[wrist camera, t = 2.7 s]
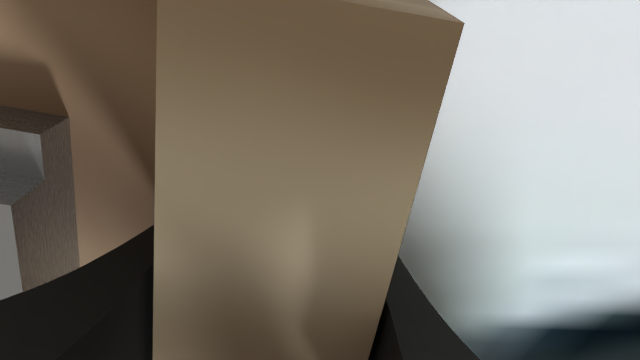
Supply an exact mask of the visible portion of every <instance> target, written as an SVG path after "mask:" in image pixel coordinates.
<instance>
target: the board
mask: <svg viewBox="0 0 640 360" xmlns="http://www.w3.org/2000/svg"><path fill="white" fill-rule="evenodd" d="M156 50H157V0H0V105H2V106H8V107H14V108H19V109H25V110H31V111H37V112H43V113H48V114H54V115H60V116H66V117H69V120H70V135H71V149H72V163H73V177H74V191H75V205H76V219H77V233H78V247H79V261H80V267H82V266H84V265H86V264H88V263H89V262H91V261H93V260H95V259H97V258H99V257H100V256H102V255H104V254H106V253H108V252H109V251H111V250H113V249H115V248H117V247H118V246H120V245H122V244H124V243H125V242H127V241H129V240H130V239H132V238H133V237H135V236H137V235H138V234H140V233H141V232H143V231H145V230H146V229H148V228H149V227H151V226H152V225H154V208H155V129H156Z"/></svg>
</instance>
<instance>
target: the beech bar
mask: <svg viewBox="0 0 640 360" xmlns="http://www.w3.org/2000/svg"><path fill="white" fill-rule="evenodd" d="M463 26H464V23H463V22H462V21H460V20H459V19H457V18H455V17H454V16H452V15H451V14H449V13H448V12H446V11H444V10H443V9H441V8H440V7H438V6H436V5H435V4H433V3H432V2H430V1H429V0H157V50H156V129H155V208H154V287H153V360H368V358H369V355H370V351H371V348H372V344H373V341H374V337H375V334H376V330H377V327H378V323H379V320H380V316H381V313H382V309H383V306H384V302H385V299H386V295H387V292H388V288H389V285H390V281H391V278H392V274H393V271H394V267H395V264H396V260H397V257H398V253H399V250H400V246H401V243H402V239H403V236H404V232H405V229H406V225H407V222H408V218H409V215H410V211H411V208H412V204H413V201H414V197H415V194H416V190H417V187H418V183H419V180H420V176H421V173H422V169H423V166H424V162H425V159H426V155H427V152H428V148H429V145H430V141H431V138H432V134H433V131H434V127H435V124H436V120H437V117H438V113H439V110H440V107H441V103H442V100H443V96H444V93H445V89H446V86H447V82H448V79H449V75H450V72H451V68H452V65H453V61H454V58H455V54H456V51H457V47H458V44H459V40H460V37H461V33H462V30H463Z"/></svg>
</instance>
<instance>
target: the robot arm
mask: <svg viewBox="0 0 640 360" xmlns="http://www.w3.org/2000/svg"><path fill="white" fill-rule="evenodd" d="M153 287H154V225H152V226H151V227H149V228H148V229H146V230H145V231H143V232H141V233H140V234H138V235H137V236H135V237H133V238H132V239H130V240H129V241H127V242H125V243H124V244H122V245H120V246H118V247H117V248H115V249H113V250H111V251H109V252H108V253H106V254H104V255H102V256H100V257H99V258H97V259H95V260H93V261H91V262H89V263H88V264H86V265H84V266H82V267H80V268H78V269H76V270H74V271H71V272H69V273H67V274H65V275H63V276H61V277H58V278H56V279H54V280H51V281H49V282H47V283H45V284H42V285H40V286H37V287H35V288H32V289H30V290H27V291H24V292H21V293H19V294H16V295H13V296H10V297H8V298H5V299H2V300H0V360H153ZM368 360H480V359H479V358H478V357H477V356H476V355H475V354H474V353H473V352H472V351H471V350H470V349H469V348H468V347H467V346H466V345H465V344H464V343H463V342H462V341H461V340H460V339H459V337H458V336H457V335H456V334H455V333H454V332H453V331H452V330H451V328H450V327H449V326H448V325H447V324H446V322H445V321H444V320H443V319H442V317H441V316H440V315H439V314H438V313H437V311H436V310H435V309H434V307H433V306H432V305H431V304H430V302H429V301H428V299H427V298H426V297H425V295H424V294H423V292H422V291H421V290H420V288H419V287H418V285H417V284H416V282H415V281H414V279H413V278H412V276H411V275H410V273H409V272H408V270H407V269H406V267H405V266H404V264H403V262H402V261H401V259H400V258H399V256H398V257H397V260H396V264H395V267H394V271H393V274H392V278H391V281H390V285H389V288H388V292H387V295H386V299H385V302H384V306H383V309H382V313H381V316H380V320H379V323H378V327H377V330H376V334H375V337H374V341H373V344H372V348H371V351H370V355H369V358H368Z"/></svg>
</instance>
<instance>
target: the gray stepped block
mask: <svg viewBox="0 0 640 360" xmlns="http://www.w3.org/2000/svg"><path fill="white" fill-rule="evenodd" d="M78 268H80V261H79V247H78V233H77V219H76V205H75V191H74V177H73V163H72V149H71V135H70V120H69V117H66V116H60V115H54V114H48V113H43V112H37V111H31V110H25V109H19V108H14V107H8V106H2V105H0V300H2V299H5V298H8V297H10V296H13V295H16V294H19V293H21V292H24V291H27V290H30V289H32V288H35V287H37V286H40V285H42V284H45V283H47V282H49V281H51V280H54V279H56V278H58V277H61V276H63V275H65V274H67V273H69V272H71V271H74V270H76V269H78Z"/></svg>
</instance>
